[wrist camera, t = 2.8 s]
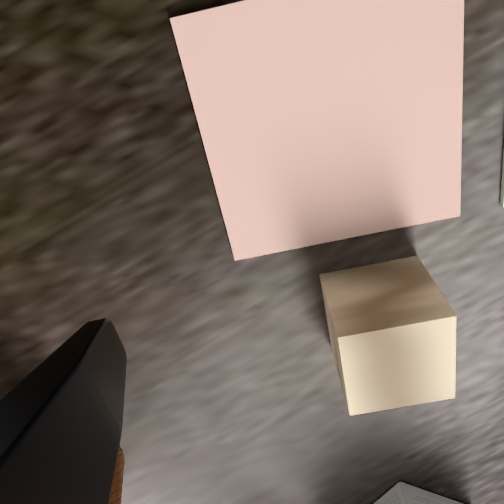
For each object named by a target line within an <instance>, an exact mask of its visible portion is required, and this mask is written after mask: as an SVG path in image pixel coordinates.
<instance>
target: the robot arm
mask: <svg viewBox="0 0 504 504" xmlns="http://www.w3.org/2000/svg"><path fill="white" fill-rule="evenodd" d="M126 364H127V358H126V352H125V349H124V346H123V344H122V342H121V340H120V338H119V336H118V333H117V331H116V329H115V327H114V325H113V323H112V322H111V321H110V320H109V319H107V318H104V319H99V320H94V321H89V322H87V323H86V324H85V325H83V326H82V327H81V328H80V329H79V330H78V331H77V332H76V333H75V334H73V335H72V336H71V337H70V338H69V339H68V340H67V341H66V342H65V343H63V344H62V345H61V346H60V347H59V348H58V349H57V350H56V351H54V352H53V353H52V354H51V355H50V356H49V357H48V358H47V359H46V360H44V361H43V362H42V363H41V364H40V365H39V366H38V367H37V368H36V369H34V370H33V371H32V372H31V373H30V374H29V375H28V376H27V377H26V378H24V379H23V380H22V381H21V382H20V383H19V384H18V385H17V386H16V387H14V388H13V389H12V390H11V391H10V392H9V393H8V394H7V395H5V396H4V397H3V398H2V399H1V400H0V504H109V499H110V493H111V488H112V483H113V477H114V472H115V466H116V461H117V456H118V450H119V445H120V439H121V432H122V422H123V408H124V393H125V378H126Z"/></svg>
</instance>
